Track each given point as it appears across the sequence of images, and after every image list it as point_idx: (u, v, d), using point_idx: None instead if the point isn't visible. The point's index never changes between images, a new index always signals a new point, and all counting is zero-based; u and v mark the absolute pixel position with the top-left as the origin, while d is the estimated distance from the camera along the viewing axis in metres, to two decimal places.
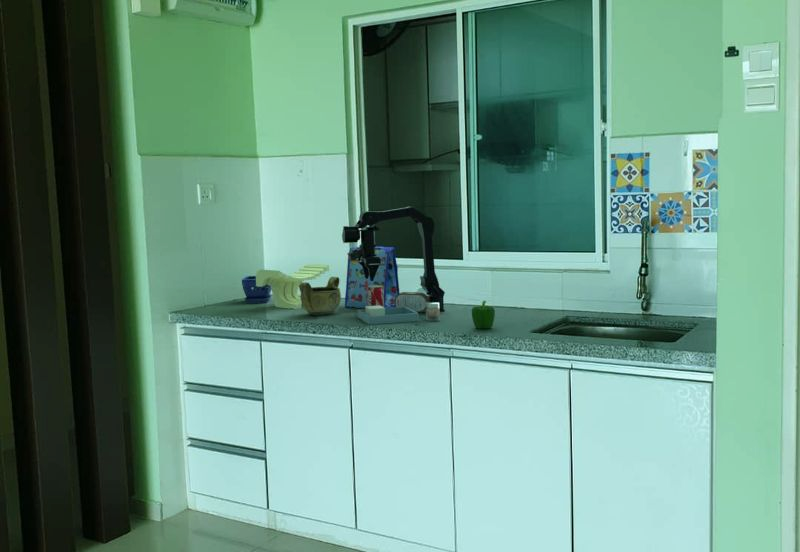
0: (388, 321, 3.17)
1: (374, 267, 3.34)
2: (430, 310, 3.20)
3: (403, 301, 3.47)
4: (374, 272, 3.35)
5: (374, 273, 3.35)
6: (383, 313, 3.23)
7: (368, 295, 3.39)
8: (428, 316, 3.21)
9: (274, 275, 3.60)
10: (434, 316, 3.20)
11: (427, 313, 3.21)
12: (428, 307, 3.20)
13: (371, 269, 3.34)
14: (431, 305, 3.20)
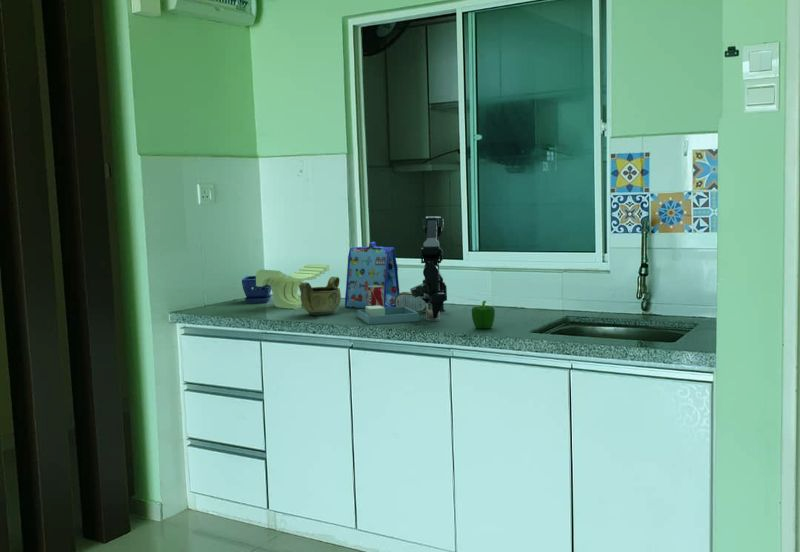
0: (388, 321, 3.17)
1: (438, 304, 3.18)
2: (430, 310, 3.20)
3: (403, 301, 3.47)
4: (438, 309, 3.19)
5: (438, 310, 3.19)
6: (383, 313, 3.23)
7: (368, 295, 3.39)
8: (428, 316, 3.21)
9: (274, 275, 3.60)
10: None
11: (427, 313, 3.21)
12: (428, 307, 3.20)
13: (435, 306, 3.18)
14: None
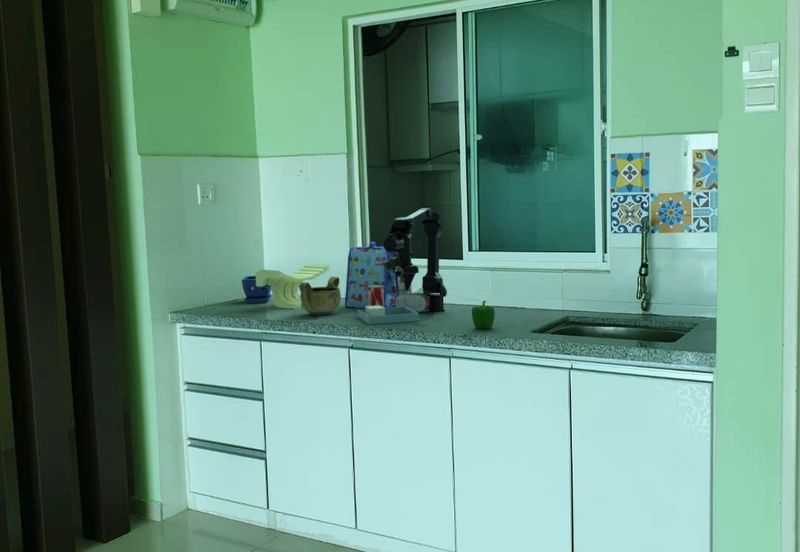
0: (388, 321, 3.17)
1: (410, 276, 3.22)
2: (402, 283, 3.24)
3: (403, 301, 3.47)
4: (410, 281, 3.23)
5: (409, 282, 3.23)
6: (383, 313, 3.23)
7: (368, 295, 3.39)
8: (400, 289, 3.25)
9: (274, 275, 3.60)
10: None
11: (399, 286, 3.25)
12: (400, 280, 3.24)
13: (406, 278, 3.22)
14: None
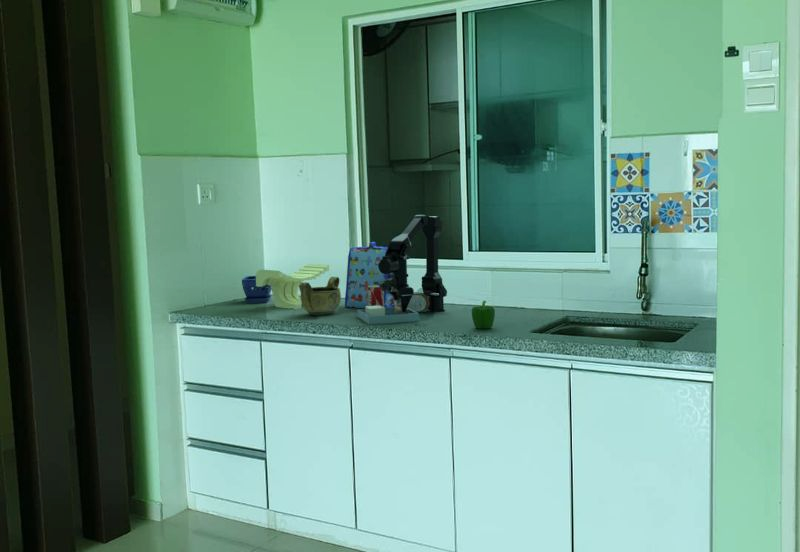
0: (388, 321, 3.17)
1: (406, 298, 3.22)
2: (398, 307, 3.26)
3: None
4: (406, 303, 3.23)
5: (406, 304, 3.23)
6: (383, 313, 3.23)
7: (368, 295, 3.39)
8: (396, 313, 3.27)
9: (274, 275, 3.60)
10: (402, 313, 3.26)
11: (395, 310, 3.27)
12: (396, 304, 3.26)
13: (403, 300, 3.22)
14: (399, 302, 3.26)
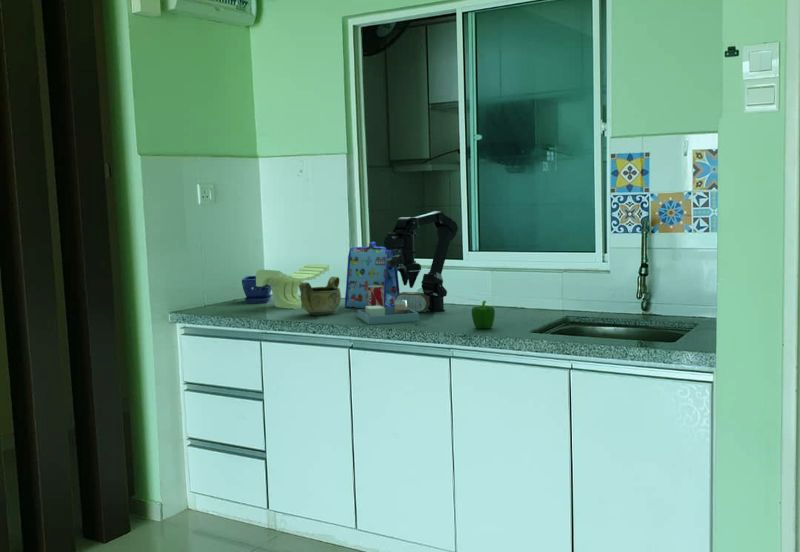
0: (388, 321, 3.17)
1: (414, 274, 3.30)
2: (398, 307, 3.26)
3: None
4: (414, 279, 3.31)
5: (414, 280, 3.31)
6: (383, 313, 3.23)
7: (368, 295, 3.39)
8: (396, 313, 3.27)
9: (274, 275, 3.60)
10: (402, 313, 3.26)
11: (395, 310, 3.27)
12: (396, 304, 3.26)
13: (411, 276, 3.30)
14: (399, 302, 3.26)
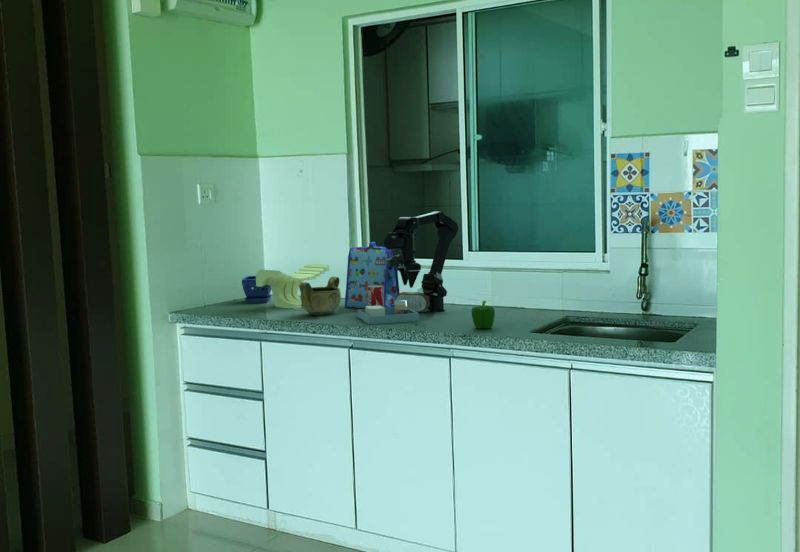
0: (388, 321, 3.17)
1: (414, 274, 3.31)
2: (398, 308, 3.26)
3: None
4: (414, 279, 3.31)
5: (414, 280, 3.31)
6: (383, 313, 3.23)
7: (368, 295, 3.39)
8: (396, 313, 3.27)
9: (274, 275, 3.60)
10: (402, 313, 3.26)
11: (395, 310, 3.27)
12: (396, 304, 3.26)
13: (411, 276, 3.30)
14: (399, 302, 3.26)
